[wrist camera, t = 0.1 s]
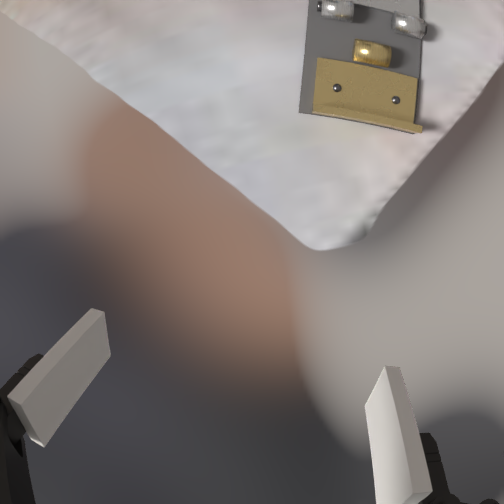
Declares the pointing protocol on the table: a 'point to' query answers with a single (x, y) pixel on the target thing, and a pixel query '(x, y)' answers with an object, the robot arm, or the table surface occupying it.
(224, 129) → the table surface
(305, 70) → the grey two-tone fixture
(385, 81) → the loose leaf
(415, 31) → the fixed leaf
